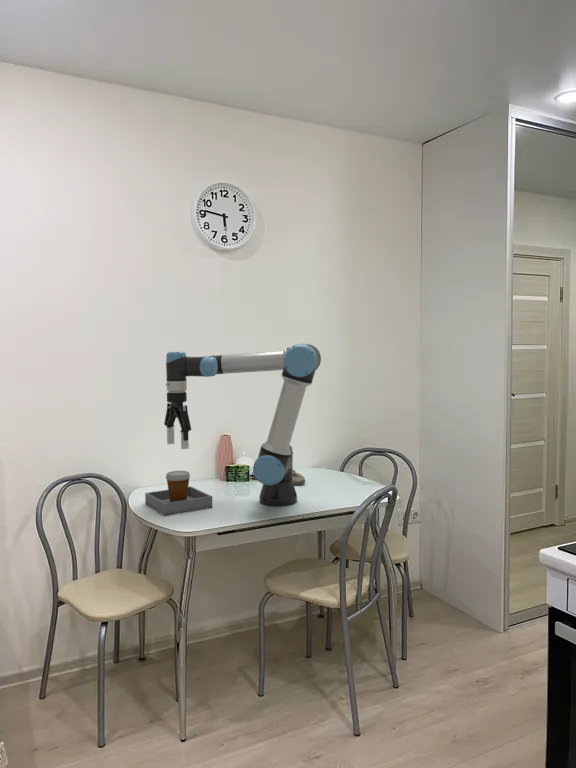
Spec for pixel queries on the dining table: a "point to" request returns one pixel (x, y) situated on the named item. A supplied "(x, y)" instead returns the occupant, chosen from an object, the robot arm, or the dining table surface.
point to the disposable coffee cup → (178, 485)
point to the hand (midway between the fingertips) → (177, 446)
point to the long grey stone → (298, 479)
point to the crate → (178, 502)
